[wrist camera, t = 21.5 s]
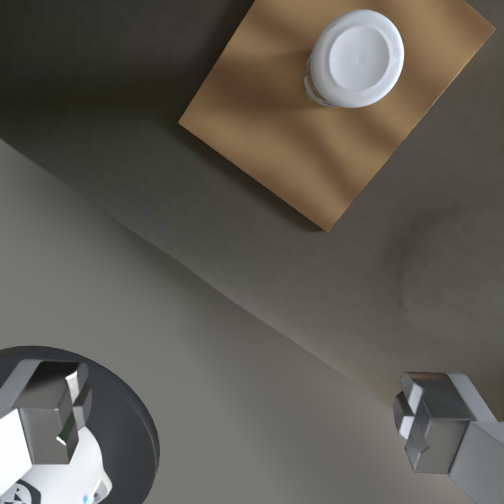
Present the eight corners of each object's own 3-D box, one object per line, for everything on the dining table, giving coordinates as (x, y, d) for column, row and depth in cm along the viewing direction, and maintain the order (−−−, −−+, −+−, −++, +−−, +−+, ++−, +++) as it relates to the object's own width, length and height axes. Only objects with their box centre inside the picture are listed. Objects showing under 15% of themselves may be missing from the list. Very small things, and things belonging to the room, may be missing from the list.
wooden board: (326, 231, 38) (327, 232, 38) (179, 122, 36) (177, 122, 36) (492, 29, 32) (496, 28, 32) (328, -115, 30) (329, -119, 30)
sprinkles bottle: (302, 111, 35) (315, 112, 22) (299, 50, 33) (309, 13, 20) (359, 105, 34) (405, 102, 21) (358, 43, 33) (407, 1, 20)
